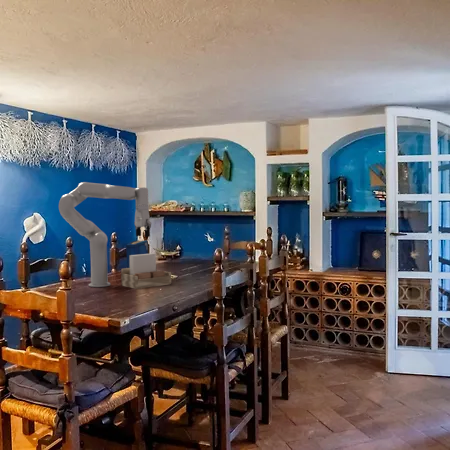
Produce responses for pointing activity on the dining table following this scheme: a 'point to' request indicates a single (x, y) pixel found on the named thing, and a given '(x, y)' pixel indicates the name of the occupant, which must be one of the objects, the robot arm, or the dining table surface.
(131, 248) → the book
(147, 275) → the offcut
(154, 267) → the tall sheet
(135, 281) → the rack
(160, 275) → the offcut
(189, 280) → the dining table surface
